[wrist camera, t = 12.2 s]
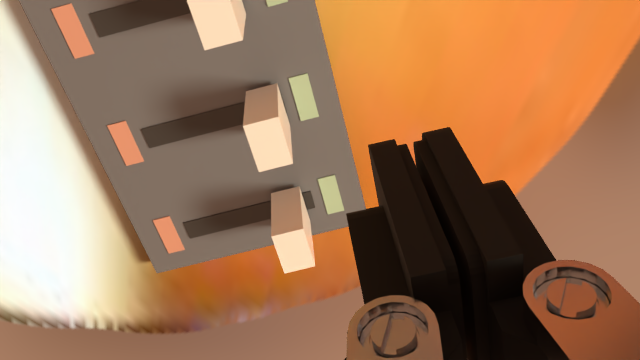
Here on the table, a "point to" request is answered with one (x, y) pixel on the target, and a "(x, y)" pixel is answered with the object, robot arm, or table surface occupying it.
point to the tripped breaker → (267, 128)
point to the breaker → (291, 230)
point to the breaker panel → (200, 118)
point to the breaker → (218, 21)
